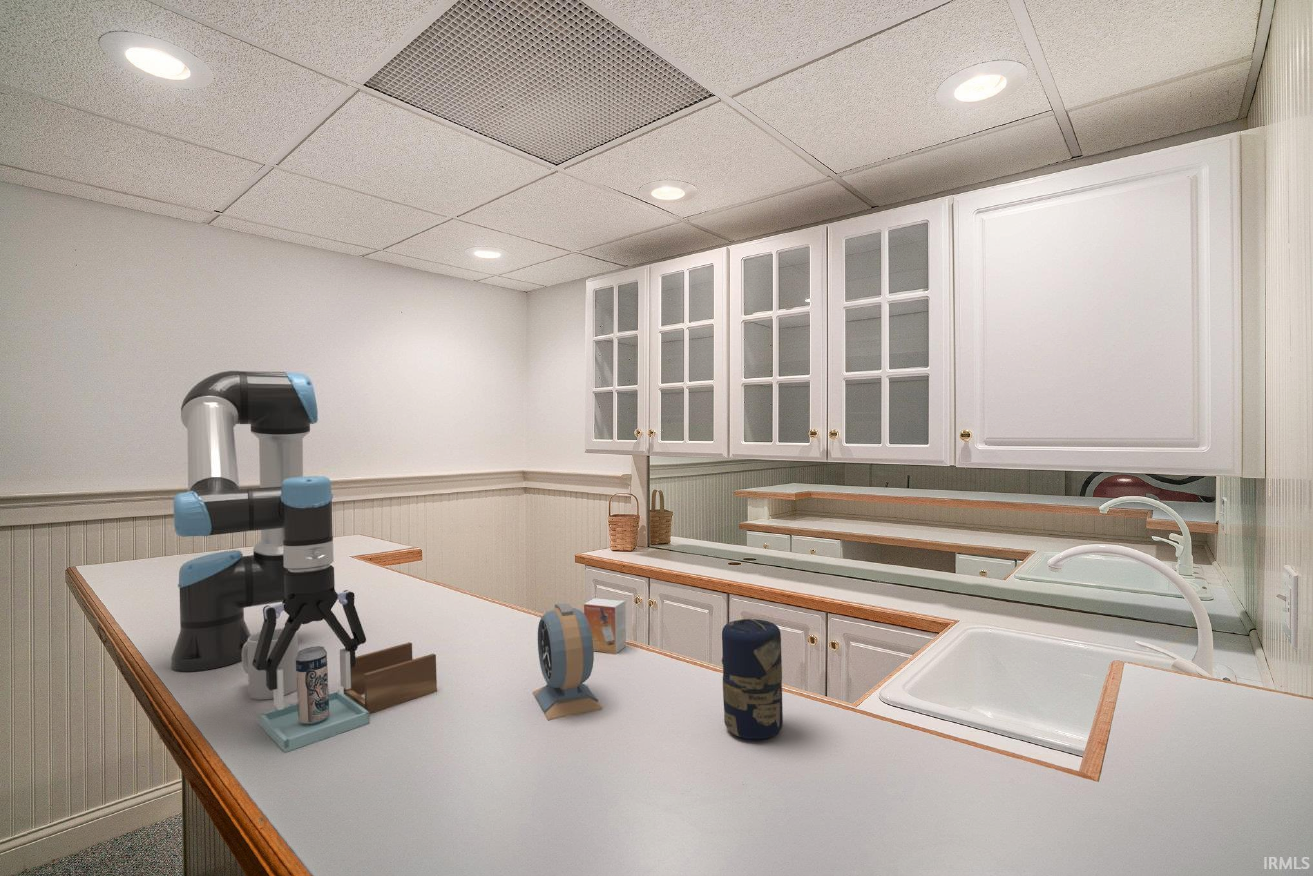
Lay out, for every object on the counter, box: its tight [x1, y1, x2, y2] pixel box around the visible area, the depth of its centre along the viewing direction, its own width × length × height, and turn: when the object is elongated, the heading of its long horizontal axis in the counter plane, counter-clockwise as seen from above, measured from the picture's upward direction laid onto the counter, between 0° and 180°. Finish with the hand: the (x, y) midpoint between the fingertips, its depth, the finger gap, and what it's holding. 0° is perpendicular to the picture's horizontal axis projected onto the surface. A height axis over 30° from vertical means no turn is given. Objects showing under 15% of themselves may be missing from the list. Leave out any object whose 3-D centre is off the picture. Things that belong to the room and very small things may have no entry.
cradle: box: [342, 642, 438, 714], centre depth 119 cm, size 11×13×7 cm
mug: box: [241, 627, 300, 701], centre depth 122 cm, size 12×8×11 cm
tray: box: [258, 690, 371, 753], centre depth 107 cm, size 14×13×2 cm
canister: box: [721, 618, 784, 740], centre depth 101 cm, size 10×10×18 cm
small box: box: [583, 597, 627, 655], centre depth 141 cm, size 8×6×10 cm
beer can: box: [295, 645, 330, 725], centre depth 107 cm, size 5×5×12 cm
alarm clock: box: [532, 602, 603, 721], centre depth 114 cm, size 14×10×18 cm
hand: (313, 696), depth 107 cm, fingers open, 10 cm apart
